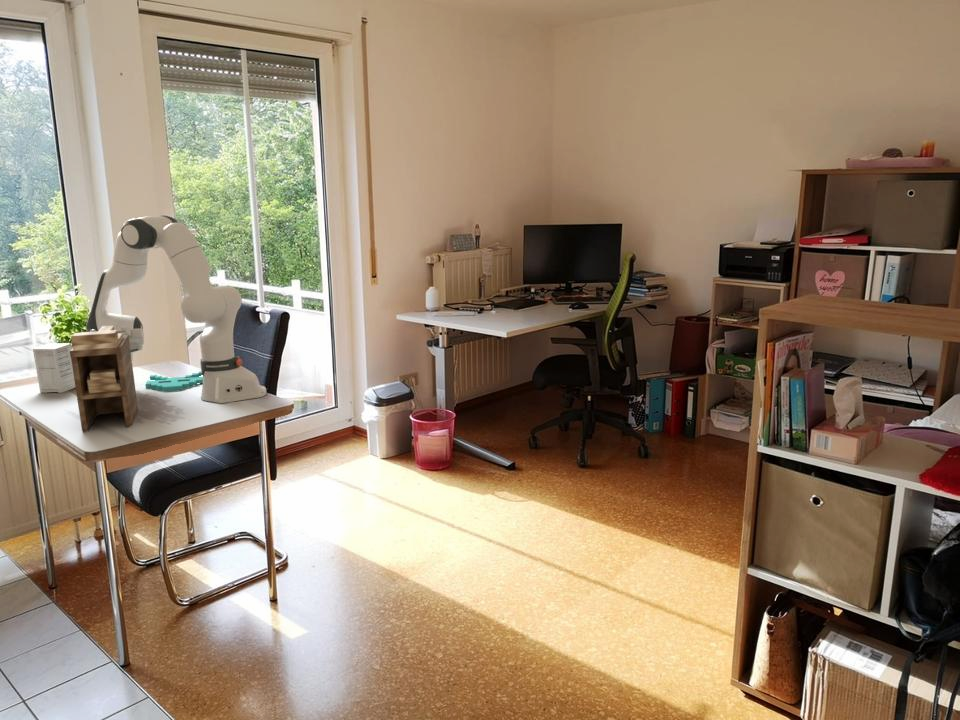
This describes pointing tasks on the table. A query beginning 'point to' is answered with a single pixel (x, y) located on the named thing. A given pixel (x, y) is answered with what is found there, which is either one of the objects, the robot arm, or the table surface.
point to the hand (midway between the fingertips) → (108, 330)
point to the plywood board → (104, 328)
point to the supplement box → (54, 367)
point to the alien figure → (173, 382)
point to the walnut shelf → (104, 382)
